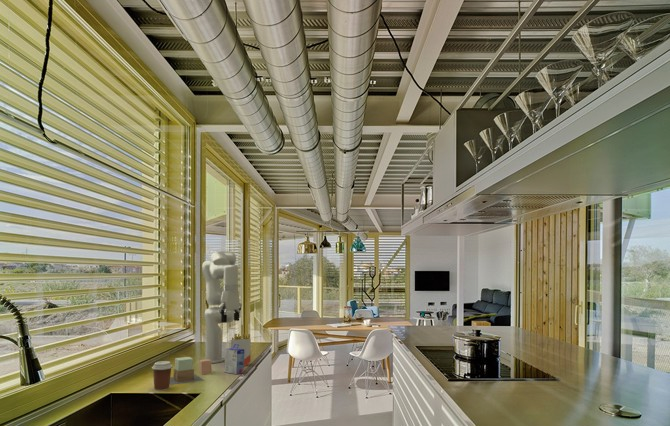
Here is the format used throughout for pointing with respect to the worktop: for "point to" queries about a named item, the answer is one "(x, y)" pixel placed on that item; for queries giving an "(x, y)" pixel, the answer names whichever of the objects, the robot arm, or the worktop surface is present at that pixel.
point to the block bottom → (183, 375)
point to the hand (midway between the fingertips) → (230, 321)
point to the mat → (196, 378)
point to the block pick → (205, 366)
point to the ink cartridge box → (234, 360)
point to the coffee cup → (162, 375)
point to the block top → (183, 363)
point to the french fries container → (243, 346)
